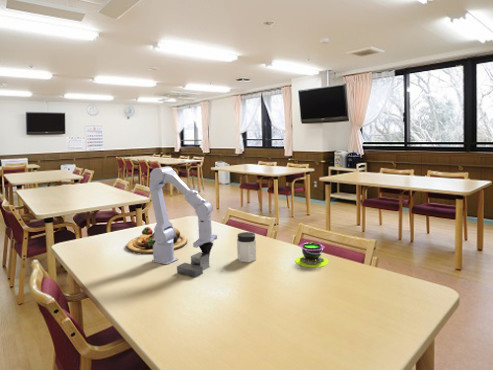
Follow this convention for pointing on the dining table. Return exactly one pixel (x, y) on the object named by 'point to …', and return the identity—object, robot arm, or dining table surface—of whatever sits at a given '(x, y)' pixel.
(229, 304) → the dining table surface
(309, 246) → the toy cauldron
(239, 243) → the jar
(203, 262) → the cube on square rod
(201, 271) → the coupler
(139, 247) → the wooden plate with food
